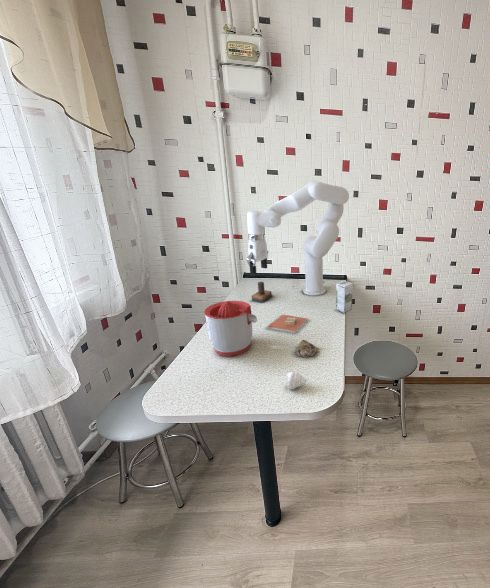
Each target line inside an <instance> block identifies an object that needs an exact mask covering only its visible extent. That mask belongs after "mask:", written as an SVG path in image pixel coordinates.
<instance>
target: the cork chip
mask: <svg viewBox="0 0 490 588" xmlns="http://www.w3.org/2000/svg"><path fill="white" fill-rule="evenodd" d="M295 322H296V318H287V319H286V321H285V325H294V324H295Z"/></svg>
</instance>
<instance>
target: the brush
mask: <svg viewBox="0 0 490 588" xmlns="http://www.w3.org/2000/svg"><path fill="white" fill-rule="evenodd" d="M257 290H258V291H257V292H255V293H253V294H252V295H251V301H252V302H257V303H262V304H263V303H264V302H267V301H268V300H269V299H270V298H272V297H273V293H272V291H271V290H265V282H264V281H258V282H257Z"/></svg>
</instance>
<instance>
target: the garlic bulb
mask: <svg viewBox="0 0 490 588" xmlns="http://www.w3.org/2000/svg"><path fill="white" fill-rule="evenodd" d="M307 381H308V378H305V377H304V376H303V375H302V374H299V372H297V371H290V372H288V373H287V375H286V388H287V389H288V390H295V389H297V388H299V387H300V386H302V385H305V384H307Z"/></svg>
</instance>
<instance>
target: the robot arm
mask: <svg viewBox="0 0 490 588" xmlns="http://www.w3.org/2000/svg"><path fill="white" fill-rule="evenodd" d="M349 199H350V193H349V190H348V189H346V188H345V187H343V186H338V185H334V184H333V185H332V184H329V183H325V182H321V181H317V180H311V181H309V182H308V183H306V184H304V186H302V187H300V188H298V190H296V191H294V192H293V193H291V194H290V195H287V196H285V197H284V198H282V199H280V200H278V201H276V202H274V203H272V204H271V205H270V206H268V207H267V208H265V209H264V210H263V211H260V210H249V211H247V212H246V224H247V238H248V246H247V247H248V248H247V249H248V250H247V252H248V256H247V257H246V262H247V264H248V266H249V273H250V274H252V275H253V274H254V275H256V274H257V265H256V264H257V262H258V263H259V262H260V267H261V269H268V257H269V250H268V245H267V244H268V243H267V240H266V235H265V234H266V233H265V228H278V227H280V225H281V223H282V217H284V216H286V215H287V214H290V213H295V212H299V211H302V210H303V209H304V208H306V207H307V206H309V205H310V204H312V203H313V202H315V201H316V200H317V201H320V202H326V203H328V204H327V208H326V210H325V212H324V213H323V215H322V216H321V217H320V219H319V220H318V222H317V223H316V226H315V232H316V233H317V235H308V236H307V237H305V239H304V240H303V244H302V248H303V255H304V278H305V279H304V281H305V287H303V289H302V293H303V294H304V295H307V296H320V295H323V294H325V293H326V291H327V290H326V288H325V287H324V284H325V281H324V274H323V273H324V269H323V268H324V261H323V259H324V258H323V257H325V256H326V255H327V254H328V253H329V251H330V250H331V248H332V247H333V245H334V244H335V242H336V241H337V240H338V238H339V235H340V227H339V226H338V223H339V221H340V220H341V218H342V216H343V214H344V210H345V209H344V205H345V204H346V203H347V202H348V201H349Z"/></svg>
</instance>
